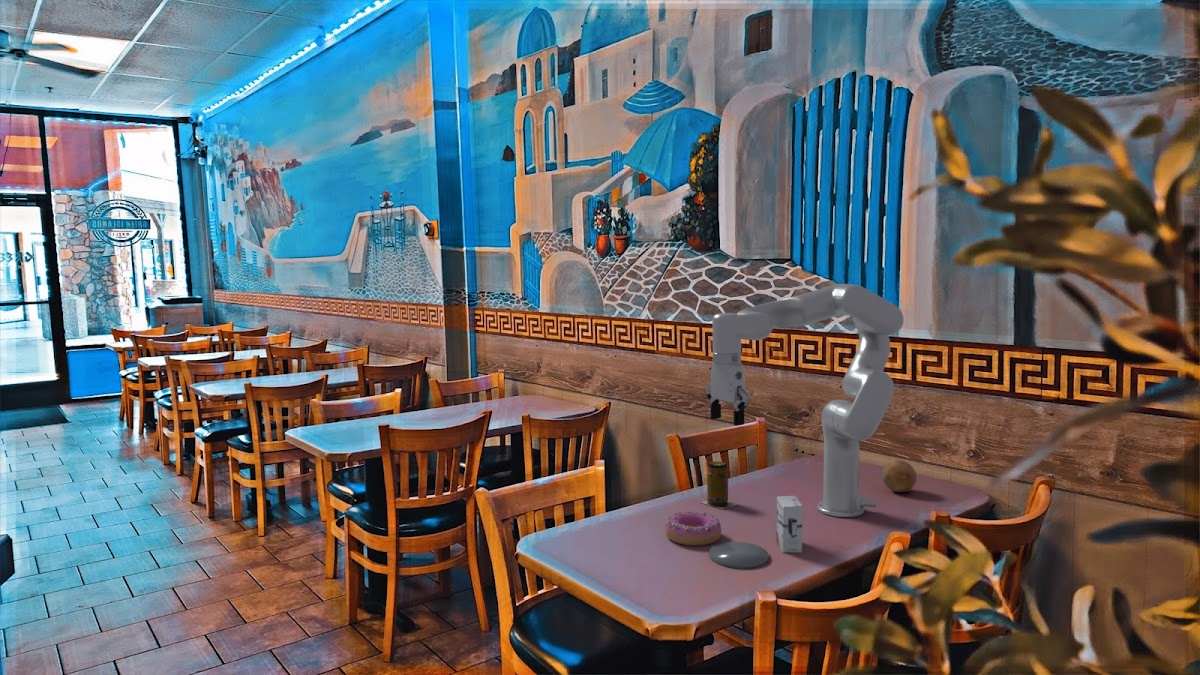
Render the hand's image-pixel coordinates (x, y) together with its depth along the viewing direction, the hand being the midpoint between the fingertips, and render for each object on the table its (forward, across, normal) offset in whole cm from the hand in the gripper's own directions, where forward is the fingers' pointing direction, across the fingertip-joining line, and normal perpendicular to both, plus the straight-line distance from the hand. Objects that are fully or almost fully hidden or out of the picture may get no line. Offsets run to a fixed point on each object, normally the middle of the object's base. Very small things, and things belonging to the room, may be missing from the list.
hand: (727, 421), depth 204 cm
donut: (+28, -5, +16) cm, 32 cm away
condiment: (+28, +12, -7) cm, 31 cm away
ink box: (+28, -23, -1) cm, 36 cm away
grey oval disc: (+28, -21, +14) cm, 38 cm away
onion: (+28, -8, -60) cm, 67 cm away
